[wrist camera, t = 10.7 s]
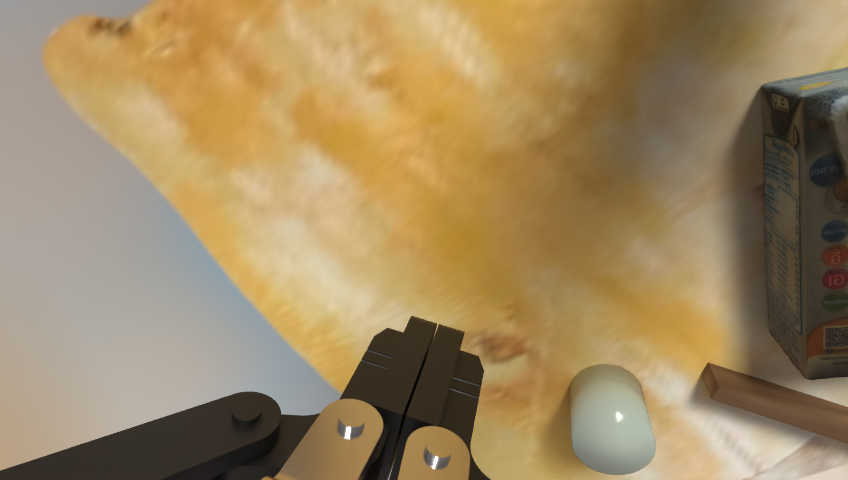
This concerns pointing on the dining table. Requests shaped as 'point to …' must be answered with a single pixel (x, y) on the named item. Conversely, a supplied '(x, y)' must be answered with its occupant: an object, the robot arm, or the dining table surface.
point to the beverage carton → (808, 219)
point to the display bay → (777, 402)
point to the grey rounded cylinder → (610, 420)
